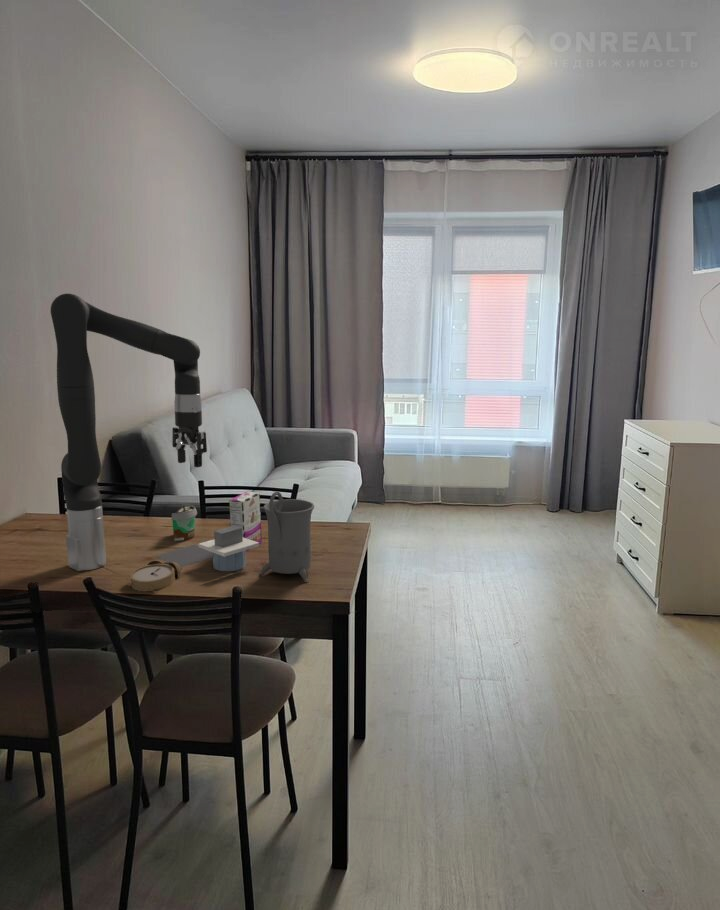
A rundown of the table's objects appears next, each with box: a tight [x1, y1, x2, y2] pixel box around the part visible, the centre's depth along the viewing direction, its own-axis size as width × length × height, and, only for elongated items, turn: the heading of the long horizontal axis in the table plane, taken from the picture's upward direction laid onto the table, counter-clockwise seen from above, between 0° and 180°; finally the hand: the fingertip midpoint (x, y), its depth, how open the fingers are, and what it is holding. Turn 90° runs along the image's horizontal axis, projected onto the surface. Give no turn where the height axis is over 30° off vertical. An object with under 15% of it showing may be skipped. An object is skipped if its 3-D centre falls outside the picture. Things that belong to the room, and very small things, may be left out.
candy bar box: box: [228, 491, 263, 553], centre depth 207 cm, size 11×5×16 cm, turn 161°
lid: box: [197, 525, 260, 557], centre depth 190 cm, size 12×12×5 cm
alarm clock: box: [127, 559, 183, 592], centre depth 180 cm, size 11×5×15 cm
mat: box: [154, 544, 213, 568], centre depth 200 cm, size 14×14×1 cm
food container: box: [171, 503, 198, 543], centre depth 216 cm, size 12×6×10 cm, turn 179°
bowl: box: [212, 550, 247, 573], centre depth 191 cm, size 9×9×6 cm
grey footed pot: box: [258, 490, 315, 583], centre depth 183 cm, size 19×15×25 cm
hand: (189, 464), depth 197 cm, fingers open, 8 cm apart
